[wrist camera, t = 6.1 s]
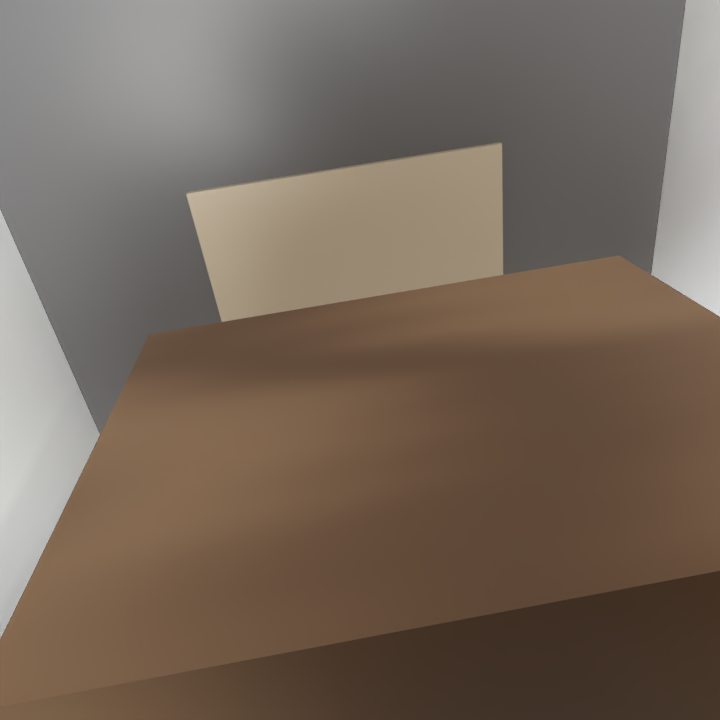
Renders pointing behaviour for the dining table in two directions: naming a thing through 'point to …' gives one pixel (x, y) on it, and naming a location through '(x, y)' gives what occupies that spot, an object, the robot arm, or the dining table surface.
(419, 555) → the walnut block
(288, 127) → the base plate
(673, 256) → the dining table surface
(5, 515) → the dining table surface
